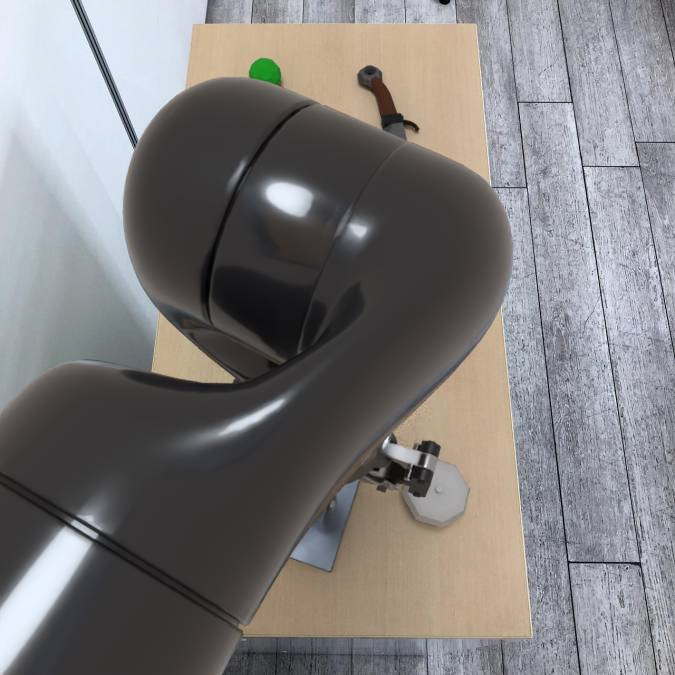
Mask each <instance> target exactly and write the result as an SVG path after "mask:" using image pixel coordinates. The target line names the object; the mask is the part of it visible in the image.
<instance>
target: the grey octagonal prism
mask: <svg viewBox="0 0 675 675" xmlns="http://www.w3.org/2000/svg"><path fill="white" fill-rule="evenodd" d="M408 490H409V486H407V485H404V487H403V490H402V498H403V499H404V501H405V503H406V505H407V506H408V508H409V510H410V512H411V514H412V516H413V518H414V520H416V521H419V522H422V523H425V524H428V525H431V526H434V527H437V528H444V527H445V526H448V525H449V524H451V523H453V522H454V521H456V520H458V519H460V518H462V517H463V516H465V512H466V508H467V504H468V500H469V495H470V491H471V488H470V486H469V485H468V482H467V481H466V479H465V477H464V476H463V475H462V473H461V471H460V469H459V467H458V466H457V464H454V463H452V462H448V461H445V460H440V459H438V460H437V464H436V467H435V471H434V475H433V478H432V482H431V485H430V488H429V490H428V492H427V494H426V497H420V498H418V497H414V496H413V494H411V493H409V492H408Z"/></svg>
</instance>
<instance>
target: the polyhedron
mask: <svg viewBox="0 0 675 675" xmlns="http://www.w3.org/2000/svg"><path fill="white" fill-rule="evenodd" d="M248 78H253V79H257V80H262V81H266V82H270V83H273V84H276V85H278V86H280V84H281V83H282V72H281V68H280V66H279V65H278V64H277V63H276V62H275V61H274V60H273V59H271V58H267V57H260V58H258V59H256V60H254V61H253V62H252V63H251V65H250V67H249V70H248Z"/></svg>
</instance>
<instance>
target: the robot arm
mask: <svg viewBox="0 0 675 675" xmlns="http://www.w3.org/2000/svg"><path fill="white" fill-rule="evenodd" d="M122 226H123V234H124V239H125V243H126V244H125V245H126V249H127V252H128V257H129V259H130V263H131V265H132V269H133V271H134V273H135V276H136V279H137V281H138V282H139V285H140V287H141V288H142V290H143V291H144V293H145V295H146V296H147V297H148V299H149V301H151V303H152V305H153V306H154V307H155V308H156V309H157V310H158V312H159V313H160V314H161V315H162V316H163V317H164V318H165V319H166V320H167V321H168V322H169V324H171V325H172V326H173V327H174V328H175V329H176V330H177V331H178V332H180V334H181V335H183V336H184V337H185V338H186V339H187V340H188V341H189V342H190V343H192V344H193V345H194V346H195V347H196V348H197V349H199V350H200V351H201V352H202V353H203V354H204V355H206V356H207V357H208V358H209V359H210V360H211V361H212V362H214V363H215V364H216V365H218V366H219V367H220V368H221V369H223V370H224V371H226V373H228V374H229V375H230V376H232V377H233V378H234V379H233V380H232V382H202V381H196V380H192V379H191V380H190V379H185V378H178V377H174V376H170V375H166V374H161V373H158V372H153V371H149V370H145V369H141V368H137V367H133V366H129V365H125V364H120V363H115V362H111V361H105V360H101V359H92V358H91V359H89V358H88V359H87V358H81V359H71V360H67V361H62V362H60V363H58V364H55V365H53V366H51V367H49V368H47V369H45V370H44V371H43V372H41V373H39V375H37V376H35V377H34V378H33V379H32V380H30V381H29V383H27V384H26V385H25V386H24V387H23V388H22V389H21V390H20V391H19V392H17V394H16V395H15V396H14V397H12V398H11V400H10V401H9V402H8V403H7V404H6V405H5V407H3V408H2V410H1V411H0V675H223V673H224V671H225V670H226V668H227V666H228V664H229V662H230V661H231V659H232V656H233V655H234V653H235V652H236V650H237V648H238V646H239V644H240V643H241V641H242V639H243V638H244V631H243V629H241V628H239V626H240V625H242V626H243V627H246V626H249V625H250V624H251V622H252V621H253V619H254V618H255V616H256V614H257V612H258V611H259V609H260V607H261V605H262V603H263V602H264V600H265V599H266V597H267V595H268V593H269V591H270V590H271V588H272V586H273V585H274V583H275V582H276V580H277V578H278V577H279V575H280V573H281V572H282V570H283V568H285V566H286V564H287V562H288V561H289V560H290V559H291V558H290V556H291V555H292V553H293V551H294V550H295V548H296V547H297V546H298V544H299V543H300V541H301V540H302V539H303V537H304V536H305V535H306V533H307V532H308V530H309V529H310V528H311V526H312V525H313V524H314V522H315V521H316V519H317V518H318V517H319V516H320V514H321V513H322V512H323V510H324V509H325V508H326V507H327V505H328V504H329V503H330V501H331V500H332V499H333V498H334V497H335V496H336V494H337V493H338V492H339V491H340V490H341V489H342V487H343V486H344V485H346V484H349V483H352V482H354V481H356V480H358V479H359V480H360V482H362V483H365V484H369V485H373V486H376V489H375V490H376V491H378V492H381V493H384V494H386V491H387V490H389V491H394V490H395V491H399V490H400V487H401V486H402V485H403V486H405V485H407V486H409V490H408V492H409V493H411V494H413V496H414V497H418V498H420V497H426V494H427V492H428V490H429V488H430V485H431V482H432V478H433V475H434V471H435V467H436V464H437V460H439V456H440V453H441V449H442V445H440V444H438V443H437V442H435V441H434V440H421V442H420V443H419V442H414V443H413V445H412V448H410V447H407V446H404V445H402V444H398V439H397V437H396V435H395V434H394V432H395V431H396V430H397V429H398V428H399V427H400V426H401V425H402V424H403V423H404V422H405V421H406V420H407V419H409V417H410V416H412V415H413V413H415V411H417V410H418V409H419V408H420V407H421V406H422V405H423V404H424V403H426V401H427V400H428V399H429V398H430V397H431V396H432V395H433V394H434V393H435V392H436V391H437V390H438V389H439V388H440V387H441V386H442V385H443V384H444V383H445V382H446V381H447V380H448V379H449V378H450V377H451V376H452V375H453V374H454V373H455V372H456V371H457V369H458V368H459V367H460V366H461V365H462V364H463V363H464V361H466V359H467V358H468V356H470V354H471V353H472V352H473V351H474V350H475V349H476V347H477V346H478V345H479V343H480V342H481V341H482V340H483V338H484V337H485V335H486V333H487V332H488V331H489V329H490V328H491V326H492V324H493V322H494V321H495V319H496V317H497V315H498V313H499V311H500V310H501V308H502V305H503V303H504V300H505V298H506V295H507V293H508V289H509V286H510V281H511V279H512V273H513V265H514V241H513V236H512V230H511V224H510V220H509V217H508V214H507V211H506V209H505V205H504V204H503V202H502V200H501V199H500V197H499V196H498V194H497V192H496V191H495V189H494V188H493V187H492V186H491V184H489V182H488V181H487V180H486V179H485V178H483V177H482V176H481V175H480V174H478V173H477V172H476V171H474V170H472V169H471V168H469V167H467V166H465V165H464V164H463V163H460V162H459V161H456V160H454V159H452V158H450V157H447V156H445V155H443V154H441V153H439V152H437V151H434V150H432V149H430V148H426V147H424V146H422V145H420V144H418V143H415V142H412V141H411V142H410V141H409V140H407V141H406V140H404V139H402V138H400V137H397V136H395V135H393V134H390V133H388V132H386V131H384V130H382V128H378V127H377V126H374V125H372V124H370V123H368V122H365V121H363V120H360V119H358V118H356V117H354V116H352V115H349V114H347V113H344V112H342V111H339V110H337V109H336V108H333V107H330V106H328V105H326V104H321V103H320V102H318V101H317V100H314V99H312V98H310V97H308V96H305V95H302V94H300V93H297V92H296V91H293V90H291V89H288V88H286V87H283V86H281V85H279V86H278V85H276V84H273V83H270V82H266V81H262V80H257V79H253V78H249V77H247V76H220V77H215V78H211V79H208V80H205V81H202V82H199V83H197V84H194V85H192V86H189V87H187V88H185V89H184V90H182V91H181V92H179V93H178V94H176V95H175V96H174V97H172V98H171V99H170V100H169V101H168V102H166V104H164V105H163V106H162V107H161V108H160V110H159V111H158V112H157V113H156V114H155V115H154V116H153V117H152V119H151V120H150V121H149V122H148V123H147V126H146V127H145V128H144V130H143V132H142V133H141V135H140V137H139V139H138V141H137V143H136V145H135V148H134V150H133V153H132V156H131V159H130V161H129V165H128V168H127V172H126V175H125V181H124V185H123V193H122Z"/></svg>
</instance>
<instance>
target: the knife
mask: <svg viewBox="0 0 675 675" xmlns="http://www.w3.org/2000/svg"><path fill="white" fill-rule="evenodd" d="M356 77H357V80H358V83H359V84H362V85H364V86H367V87H369V88H370V89H371V91H372V93H374V95H375V97H376V100H377V104H378V108H379V113H380V117H381V121H380V127H381V130H384V131H386V132H388V133H390V134H393V135H395V136H397V137H400V138H402V139H404V140H406V141H408V138H407V134H406V130H405V126H410V127H412V128H413V129H414V131H415V132H419V131H420V127H419V126H418V124H417V123H415V122H414V121H412V120H408V119H405V117H404V115H403V114H402V113H401V112H398V111H397V108H396V105H395V102H394V100H393V97H392V93H391V91H390V90H389V88H388V86H387V85H386V84H385V82H384V81H383V72H382V71H381V69H379V68H378V67H377V66H375V65H372V64H370V65H366V66H364V67H362V68H361V69H360V70H359V71H358V73H357V74H356Z"/></svg>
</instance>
